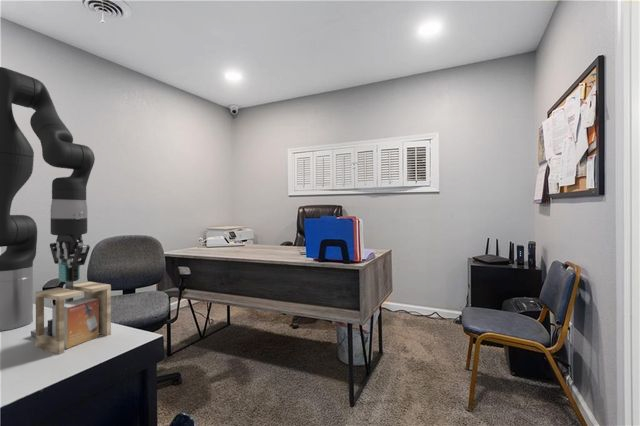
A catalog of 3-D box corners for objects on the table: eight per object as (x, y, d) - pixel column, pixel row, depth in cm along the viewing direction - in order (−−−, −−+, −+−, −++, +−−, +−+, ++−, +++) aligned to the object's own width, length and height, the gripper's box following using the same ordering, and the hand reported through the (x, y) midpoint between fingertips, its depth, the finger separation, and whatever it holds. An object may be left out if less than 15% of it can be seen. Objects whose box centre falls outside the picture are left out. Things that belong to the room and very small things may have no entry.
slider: (46, 343, 74) (45, 265, 74) (85, 329, 83) (85, 260, 82) (51, 344, 73) (51, 266, 73) (90, 331, 82) (90, 260, 82)
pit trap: (30, 336, 79) (30, 331, 79) (73, 323, 88) (73, 318, 88) (45, 341, 76) (45, 335, 76) (87, 327, 86) (87, 321, 86)
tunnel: (35, 346, 73) (35, 292, 73) (88, 328, 85) (88, 281, 84) (59, 354, 70) (59, 296, 70) (110, 334, 81) (110, 284, 81)
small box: (66, 349, 72) (66, 307, 72) (51, 346, 74) (51, 305, 74) (99, 336, 80) (99, 298, 79) (85, 333, 81) (85, 296, 81)
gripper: (36, 216, 77) (36, 281, 77) (69, 217, 72) (68, 286, 72) (69, 215, 84) (69, 275, 84) (101, 217, 79) (101, 280, 79)
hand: (69, 280), depth 78 cm, fingers closed on slider, 2 cm apart
